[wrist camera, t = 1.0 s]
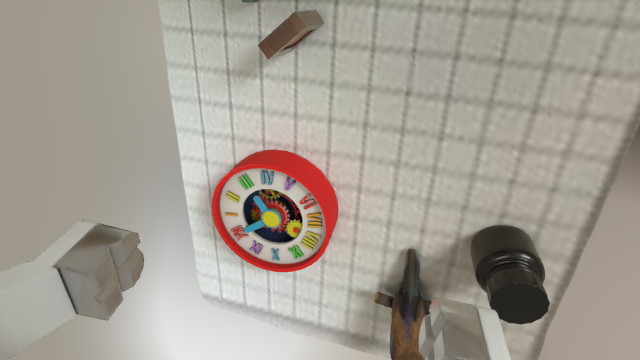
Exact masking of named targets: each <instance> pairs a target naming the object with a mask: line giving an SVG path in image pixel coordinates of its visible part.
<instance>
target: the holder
mask: <svg viewBox="0 0 640 360" xmlns="http://www.w3.org/2000/svg"><path fill="white" fill-rule="evenodd" d="M242 1H243V2H257V1H258V0H242Z"/></svg>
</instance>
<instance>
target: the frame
mask: <svg viewBox="0 0 640 360" xmlns="http://www.w3.org/2000/svg"><path fill="white" fill-rule="evenodd" d="M323 24H324V22H323V20H322V19H321V17H320V16H319V14H318V13H317V11H316V10H313V11H300V12H294V13H293V14H292V15H291V16H290V17H289V18H288V19H286V20H285V21H284V22H283V23H282V24H281V25H280V26H279V27H278V28H276V29H275V30H274V31H273V32H272V33H271V34H270V35H269V36H268V37H266V38H265V39H264V40H263V41H262V42H261V43H260V44H259V45H258V46H259V47H260V49H261V50H262V51H263V53H264V54H265V56H266V57H267V58H268V59H271V58H273V57H276V56H279V55H281V54H284V53H287V52H289V51H292V50H293V49H294V48H295V47H297V46H298V45H299V44H300V43H301V42H303V41H304V40H305V39H306V38H307V37H308V36H310V35H311V34H312V33H313V32H314V31H316V30H317V29H318V28H319V27H320V26H322V25H323Z"/></svg>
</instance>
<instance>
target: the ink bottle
mask: <svg viewBox="0 0 640 360" xmlns="http://www.w3.org/2000/svg"><path fill="white" fill-rule="evenodd" d="M471 255H472V261H473V266H474V271H475V276H476V279H477V282H478V284H479V285H480V287H481V288H482V289H483V290H484V291H485V292H486V293H487V295H488V300H489V304H490V306H491V309H492V310H495V311H496V312H497V314H498V316H499V319H502V320H504V321H506V322H508V323H515V324H525V323H532V322H534V321H536V320H538V319H541V318H542V317H543V316H544V315H545V313H547V312H548V307H549V305H550V303H549V300H548V298H547V294H546V292H545V289H544V287H543V285H542V284H543V282H544V279H545V270H544V266H543V264H542V261H541V259H540V257H539V255H538V253H537V251H536V248H535V246H534V244H533V242H532V240H531V238H530V237H529V236H528V235H527V234H526V233H525V232H524V231H522V230H520V229H518V228H516V227H511V226H495V227H491V228H488V229H486V230H484V231H482V232H480V233H479V234H478V235H477V236H476V237H475V238H474V240H473V242H472V245H471Z"/></svg>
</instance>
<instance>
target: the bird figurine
mask: <svg viewBox="0 0 640 360" xmlns="http://www.w3.org/2000/svg"><path fill="white" fill-rule="evenodd" d="M417 258H418V256H417V250H414V249H409V252H408V253H407V257H406V262H405V268H404V279H403V282H402V285H401V288H400V291H399V294H395V295H394V297H391V296H387V295H385V294H382V293H380V292H377V293H376V296H375V300H374V301H375V303H379V304H381V305H384V306H386V307H390V308H392V323H391V334H390V354H391V359H392V360H424V358H423V357H422V355H421V354H420V352H419V332H420V327H421V323H422V321H423V319H424V316H426V315H428V314H430V312H429V311H428V309H429V310H430V304H431V301H423V300H422V296H421V293H420V290H419V287H418V280H419V270H420V264H419V261H418V259H417Z"/></svg>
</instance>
